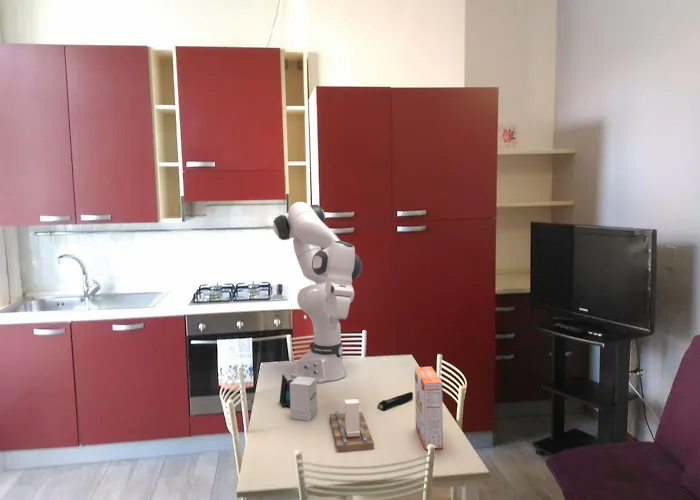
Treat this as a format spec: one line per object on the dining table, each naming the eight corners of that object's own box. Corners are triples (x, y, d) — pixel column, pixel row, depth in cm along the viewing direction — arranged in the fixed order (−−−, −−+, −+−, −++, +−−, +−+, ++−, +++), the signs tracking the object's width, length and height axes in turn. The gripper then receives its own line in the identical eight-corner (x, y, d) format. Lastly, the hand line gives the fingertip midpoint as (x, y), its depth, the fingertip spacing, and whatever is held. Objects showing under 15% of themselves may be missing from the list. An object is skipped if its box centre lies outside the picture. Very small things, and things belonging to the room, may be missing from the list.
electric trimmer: (415, 401, 194) (415, 393, 194) (383, 412, 185) (383, 403, 184) (408, 398, 197) (408, 390, 197) (376, 409, 188) (376, 400, 187)
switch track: (329, 419, 179) (329, 411, 179) (361, 417, 180) (361, 408, 180) (337, 452, 157) (337, 442, 157) (373, 448, 159) (373, 439, 158)
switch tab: (344, 429, 166) (344, 398, 165) (357, 428, 167) (357, 397, 166) (347, 437, 161) (346, 405, 160) (360, 436, 162) (359, 404, 161)
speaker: (277, 407, 189) (279, 379, 188) (279, 401, 195) (281, 374, 194) (298, 409, 189) (300, 381, 188) (300, 403, 195) (302, 376, 194)
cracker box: (414, 428, 171) (414, 366, 169) (432, 427, 172) (432, 365, 169) (423, 450, 157) (423, 382, 155) (443, 449, 158) (443, 381, 155)
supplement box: (310, 421, 178) (309, 385, 177) (290, 418, 180) (288, 383, 179) (318, 412, 185) (317, 377, 184) (298, 409, 187) (297, 375, 186)
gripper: (322, 286, 189) (317, 324, 188) (335, 289, 169) (330, 332, 168) (339, 288, 190) (334, 326, 190) (354, 291, 170) (349, 334, 170)
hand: (332, 329), depth 179 cm, fingers closed
